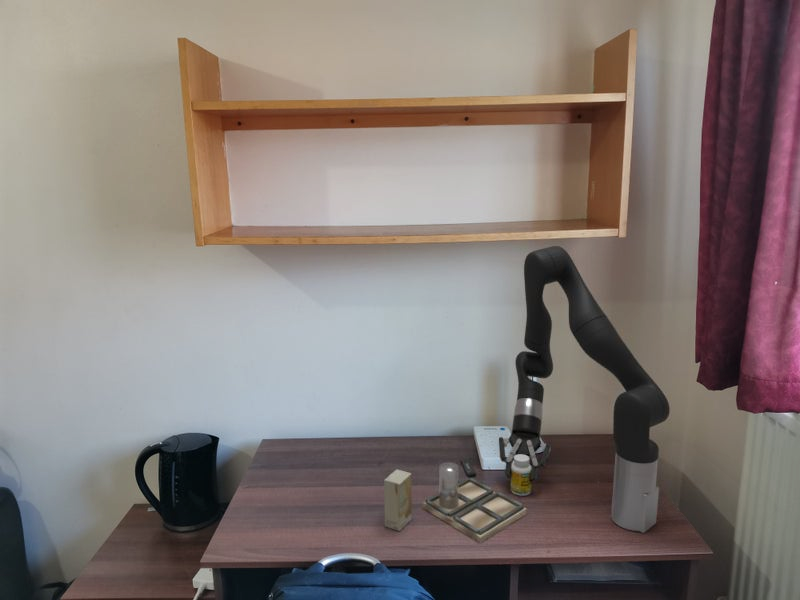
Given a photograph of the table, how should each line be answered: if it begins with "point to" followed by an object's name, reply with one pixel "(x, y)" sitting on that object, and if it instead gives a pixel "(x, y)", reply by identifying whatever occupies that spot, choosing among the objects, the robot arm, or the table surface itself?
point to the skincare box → (398, 499)
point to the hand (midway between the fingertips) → (520, 479)
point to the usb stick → (468, 467)
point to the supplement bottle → (521, 475)
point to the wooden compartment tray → (478, 510)
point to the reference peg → (449, 485)
